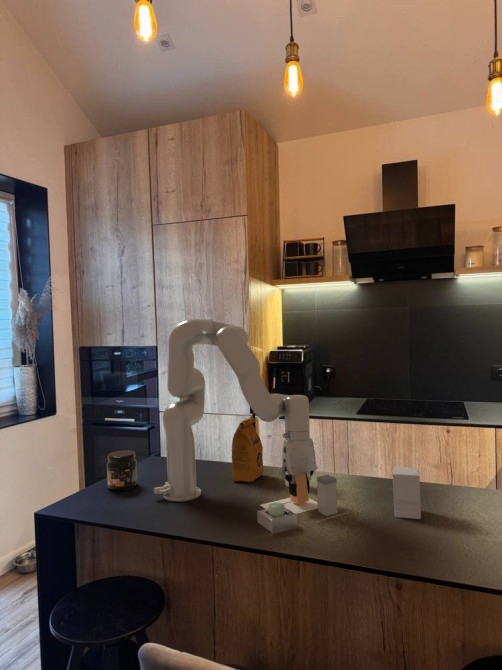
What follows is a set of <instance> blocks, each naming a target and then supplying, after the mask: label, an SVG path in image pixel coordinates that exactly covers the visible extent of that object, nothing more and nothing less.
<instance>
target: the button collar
mask: <svg viewBox="0 0 502 670" xmlns="http://www.w3.org/2000/svg"><path fill="white" fill-rule="evenodd" d="M256 513H257V516H256V517H257V523H258V524H259V525H260V526H262V527H263V528H264V529H266V530H268V531H269V532H270V533H271V534H277V533H280V532H284V531H287V530H291V529H293V528H297V527H298V521H297V515H298V514H295V513H293V512H292V511H290V510H288V509H287V508H285V507H284V513H285V515H283V516H279V517H275V518H273V517H271V516H270V515H269V508H268V509H265V508H263V509H262V510H261V509H260V510H257V512H256Z"/></svg>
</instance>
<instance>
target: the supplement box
mask: <svg viewBox="0 0 502 670" xmlns="http://www.w3.org/2000/svg"><path fill="white" fill-rule="evenodd" d="M420 479H421V477H420V471H419V468H417V467H402V466H401V467H400V466H394V467H393V470H392V489H393V491H392V492H393V508H394V510H393V513H394V518H402V519H413V520H414V519H415V520H421V518H422V513H421V512H422V506H421V505H422V503H421V485H420V484H421V483H420V482H421V480H420Z"/></svg>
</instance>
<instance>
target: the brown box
mask: <svg viewBox="0 0 502 670" xmlns="http://www.w3.org/2000/svg"><path fill="white" fill-rule="evenodd" d="M306 481H307V480H306V473H301V474H296V477H295V483H296V484H297V496H295V497H294V496H293V495H291V494H290V493H289V496H290V497H289V498H291V502H294V503H298V504H299V503H303V502H307V501H309V498H310V497H309V493H308V489H307V482H306Z"/></svg>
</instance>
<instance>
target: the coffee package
mask: <svg viewBox="0 0 502 670" xmlns="http://www.w3.org/2000/svg"><path fill="white" fill-rule="evenodd" d="M255 422H256V419H255V418H254V417H253V416H252V417H250V418H247V419H244V420H242V421H241V422H239V424H238V426H237V428H236V430H235V432H234V434H233V437H232V441H231V468H232V481H233V482H235V483H236V482H245V483H251V482H254V481H255V480H257V479H258V478H260V477H261V476H262V475H263V474H264V459H263V458H264V457H263V456H264V454H263V453H264V450H263V449H264V448H263V443H262V440H261V438H260V436H259V434H258V432H257V431H256V427H254V424H253V423H255Z"/></svg>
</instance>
